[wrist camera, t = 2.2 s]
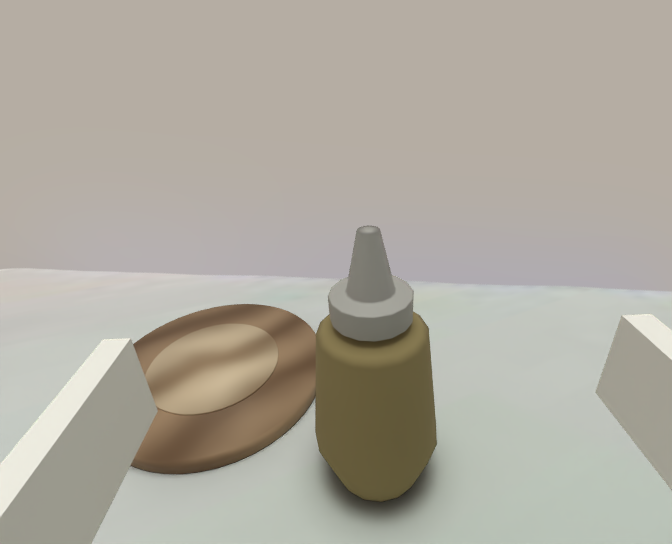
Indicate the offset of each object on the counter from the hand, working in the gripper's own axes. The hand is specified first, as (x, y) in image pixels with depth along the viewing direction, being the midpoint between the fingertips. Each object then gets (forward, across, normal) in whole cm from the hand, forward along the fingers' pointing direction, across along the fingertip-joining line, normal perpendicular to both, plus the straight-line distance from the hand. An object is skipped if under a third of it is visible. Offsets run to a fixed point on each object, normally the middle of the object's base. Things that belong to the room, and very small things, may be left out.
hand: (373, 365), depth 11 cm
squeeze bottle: (+10, +1, -18) cm, 21 cm away
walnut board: (+20, -13, -18) cm, 30 cm away
